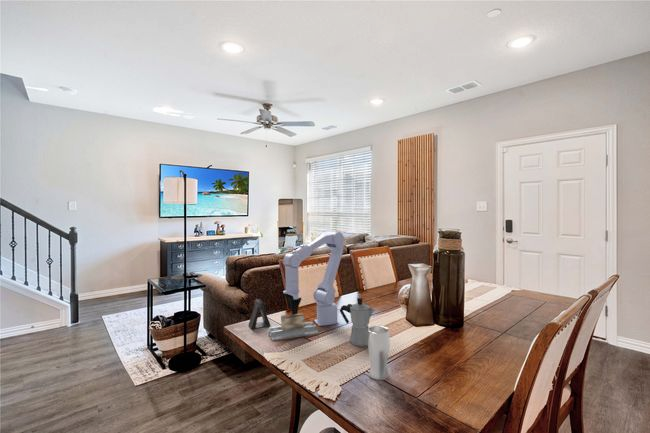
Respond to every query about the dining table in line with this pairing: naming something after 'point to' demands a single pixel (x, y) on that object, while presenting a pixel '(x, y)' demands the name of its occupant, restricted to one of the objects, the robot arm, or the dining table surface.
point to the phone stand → (254, 316)
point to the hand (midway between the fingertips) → (292, 311)
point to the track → (292, 332)
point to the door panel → (292, 321)
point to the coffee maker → (358, 322)
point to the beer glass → (378, 351)
